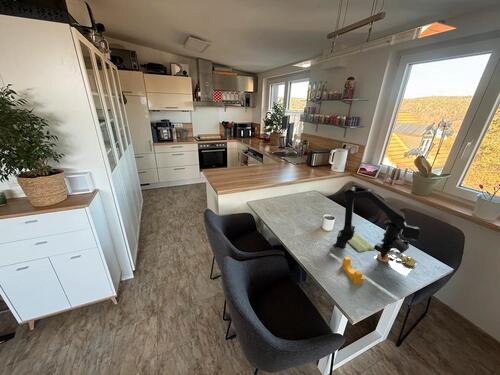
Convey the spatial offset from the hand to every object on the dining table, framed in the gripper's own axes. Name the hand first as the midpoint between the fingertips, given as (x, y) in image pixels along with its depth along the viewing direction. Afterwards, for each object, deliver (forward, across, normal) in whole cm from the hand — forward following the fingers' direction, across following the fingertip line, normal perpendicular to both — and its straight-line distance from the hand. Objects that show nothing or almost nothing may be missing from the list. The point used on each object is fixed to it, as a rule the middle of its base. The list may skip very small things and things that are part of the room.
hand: (383, 256), depth 113 cm
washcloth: (+4, +2, +16) cm, 17 cm away
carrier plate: (+3, +6, -4) cm, 8 cm away
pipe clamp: (+4, -24, +4) cm, 25 cm away
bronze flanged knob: (+2, 0, 0) cm, 2 cm away
